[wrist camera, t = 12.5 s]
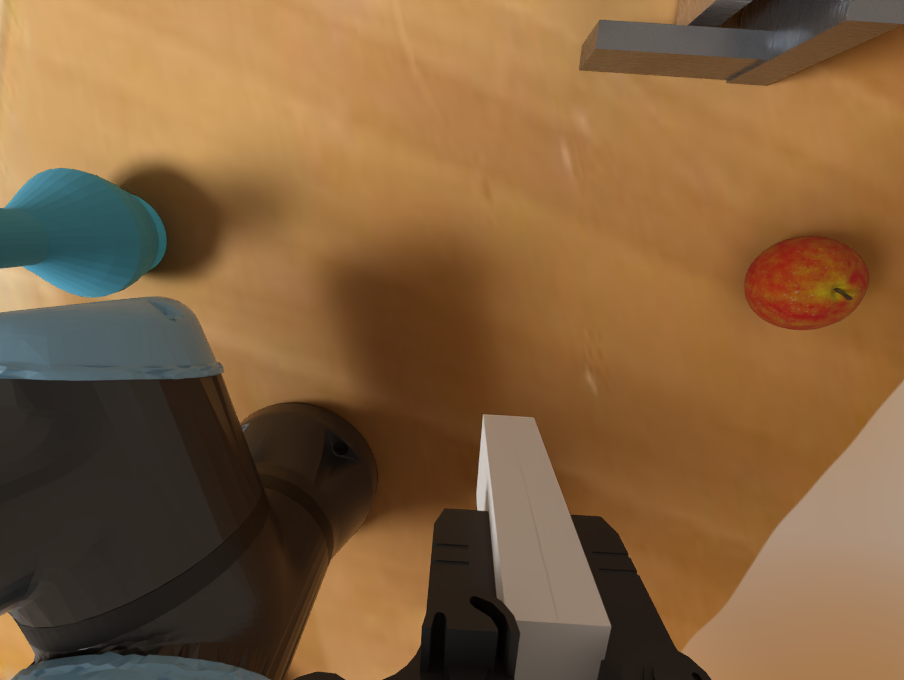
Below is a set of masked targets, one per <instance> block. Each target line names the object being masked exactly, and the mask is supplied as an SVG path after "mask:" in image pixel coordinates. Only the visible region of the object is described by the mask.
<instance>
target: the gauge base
mask: <svg viewBox="0 0 904 680" xmlns="http://www.w3.org/2000/svg"><path fill="white" fill-rule="evenodd" d="M902 25H904V0H752V1H751V2H750V3H748V4H747V5H746V6H745V7H743V10H742V14H741V19H740V23H739V28H738V29H733V28H718V27H703V26H687V25H672V24H657V23H642V22H626V21H611V20H599V22H598V23H597V24H596V26H595V27H594V29H593V30H592V32H591V33H590V35H589V36H588V38H587V39H586V41H585V42H584V44H583V45H582V52H581V59H580V67H579V70H585V71H600V72H615V73H630V74H645V75H661V76H676V77H691V78H706V79H721V80H727V83H735V84H750V85H765V86H767V85H769V84H772V83H774V82H776V81H778V80H781V79H783V78H785V77H787V76H789V75H792V74H794V73H796V72H798V71H801V70H803V69H805V68H807V67H810V66H812V65H814V64H816V63H819V62H821V61H823V60H825V59H828V58H830V57H832V56H834V55H837V54H839V53H841V52H843V51H846V50H848V49H850V48H852V47H855V46H857V45H859V44H861V43H864V42H866V41H868V40H870V39H872V38H875V37H877V36H879V35H881V34H884V33H886V32H888V31H890V30H893V29H895V28H897V27H899V26H902Z"/></svg>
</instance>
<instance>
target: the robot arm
mask: <svg viewBox="0 0 904 680" xmlns="http://www.w3.org/2000/svg"><path fill="white" fill-rule="evenodd" d="M221 373H224V369H223V366H222V364H221V363H219V362H217V361H216V359H215V357H214V355H213V352H212V350H211V348H210V346H209V343H208V341H207V339H206V337H205V334H204V332H203V330H202V327H201V325H200V323H199V321H198V319H197V317H196V315H195V314H194V313H193V312H192V311H191V310H190V309H189V308H188V307H187V306H186V305H184V304H182V303H181V302H179V301H176V300H174V299H170V298H166V297H141V298H131V299H121V300H112V301H102V302H93V303H83V304H74V305H65V306H55V307H46V308H37V309H27V310H18V311H10V312H1V313H0V616H1V615H3V614H5V613H7V612H8V613H9V614H10V615H11V616H12V617H13V619H14V620H15V621H16V623H17V624H18V626H19V627H20V629H21V631H22V632H23V634H24V635H25V637H26V639H27V641H28V642H29V644H30V646H31V647H32V649H33V651H34V653H35V658H34V662H33V663H32V664H31V665H30V666H29V667H28V668H26V669H23V670H21V671H20V672H18V673H17V674H16V675H15V676H14V677H13V678H12V679H11V680H285V678H286V675H287V672H288V670H289V667H290V665H291V662H292V659H293V657H294V654H295V652H296V649H297V646H298V644H299V641H300V639H301V636H302V633H303V631H304V628H305V626H306V623H307V620H308V618H309V615H310V613H311V610H312V607H313V605H314V602H315V600H316V597H317V594H318V592H319V589H320V587H321V584H322V581H323V579H324V576H325V573H326V571H327V568H328V565H329V563H330V560H331V559H332V558H333V556H334V555H335V554H336V553H337V552H338V551H339V550H340V549H341V548H342V547H343V546H344V545H345V543H346V542H347V541H348V540H349V539H350V538H351V537H352V536H353V535H354V534H355V532H356V531H357V530H358V529H359V528H360V527H361V525H362V524H363V522H364V521H365V519H366V517H367V515H368V513H369V511H370V508H371V505H372V502H373V499H374V496H375V493H376V488H377V468H376V463H375V460H374V457H373V454H372V452H371V450H370V448H369V446H368V444H367V443H366V441H365V440H364V438H363V437H362V436H361V435H360V434H359V432H358V431H357V430H356V429H355V428H354V427H353V426H351V425H350V424H349V423H348V422H346V421H345V420H344V419H342V418H341V417H339V416H337V415H336V414H334V413H332V412H330V411H327V410H325V409H322V408H319V407H316V406H312V405H307V404H299V403H285V404H277V405H272V406H269V407H266V408H263V409H261V410H258V411H256V412H254V413H253V414H251V415H250V416H248V417H247V418H246V419H244V420H243V421H242V422H241V423H239V420H238V417H237V415H236V412H235V409H234V407H233V404H232V401H231V398H230V396H229V393H228V390H227V388H226V385H225V382H224V380H223V377H222V374H221ZM476 496H477V510H462V509H446V508H445V509H444V510H443V512H442V513H441V515H440V516H439V518H438V519H437V521H436V522H435V523H434V532H433V543H432V554H431V566H430V577H429V588H428V599H427V610H426V616H425V619H424V622H423V625H422V636H421V646H420V648H419V650H418V652H417V654H416V655H415V656H414V658H413V659H412V660H411V661H410V662H409V664H408V665H407V666H405V667H404V668H403V669H401V670H400V671H399V672H397V673H396V674H395V675H392V676H390V677H388V678H386V679H383V680H711V679H710V677H709V676H708V675H707V673H706V672H705V671H704V670H703V669H702V668H700V667H699V666H698V665H697V664H696V663H695V662H694V661H693V660H692V659H690V658H689V657H688V656H686V655H684V654H683V653H681V652H679V651H678V650H677V649H676V647H675V646H674V644H673V642H672V640H671V638H670V636H669V634H668V632H667V630H666V628H665V626H664V624H663V622H662V620H661V618H660V616H659V614H658V612H657V610H656V608H655V606H654V604H653V602H652V600H651V598H650V596H649V594H648V592H647V590H646V588H645V586H644V584H643V582H642V580H641V578H640V576H639V575H637V570H636V568H635V566H634V564H633V562H632V560H631V558H629V557H628V552H627V550H626V548H625V546H624V544H623V542H622V540H621V539H620V537H619V535H618V533H617V532H616V531H615V530H614V529H613V528H612V527H611V526H610V525H609V524H608V523H607V522H606V521H605V520H604V519H603V518H602V517H599V516H583V515H570V513H569V511H568V508H567V505H566V503H565V500H564V497H563V495H562V492H561V489H560V487H559V484H558V481H557V478H556V476H555V473H554V470H553V468H552V465H551V462H550V460H549V457H548V454H547V451H546V449H545V446H544V443H543V441H542V438H541V435H540V433H539V430H538V427H537V425H536V422H535V419H534V417H521V416H505V415H489V414H483V421H482V433H481V445H480V456H479V468H478V480H477V492H476ZM294 680H345V679H343V678H342V677H340V676H339V675H337V674H335V673H326V672H314V673H311V674H307V675H304V676H300V677H297V678H296V679H294Z"/></svg>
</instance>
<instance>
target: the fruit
mask: <svg viewBox="0 0 904 680" xmlns="http://www.w3.org/2000/svg"><path fill="white" fill-rule="evenodd" d="M868 283H869V275H868V270H867V268H866V265H865V263H864V261H863V260H862V258H861V257H860V256H859V255H858V254H857V253H856V252H855V251H854V250H853V249H851V248H850V247H848V246H847V245H845V244H843V243H840V242H838V241H836V240H832V239H828V238H824V237H813V236H806V237H797V238H792V239H788V240H785V241H782V242H780V243H777V244H775V245H773V246H772V247H770V248H768V249H767V250H765V251H764V252H763V253H762V254H761V255H759V256H758V257H757V258H756V259H755V261H754V262H753V263H752V264H751V266H750V268H749V269H748V272H747V274H746V278H745V286H744V287H745V295H746V299H747V301H748V304H749V306H750V307H751V308H752V310H753V311H754V312H755V313H756V314H757V315H758V316H759V317H760V318H762V319H763V320H765V321H767V322H768V323H771V324H773V325H776V326H778V327H782V328H787V329H793V330H810V329H818V328H821V327H825V326H828V325H831V324H833V323H836V322H838V321H840V320H842V319H844V318H846V317H847V316H848V315H850V314H851V313H852V312H853V311H854V310H855V309H856V307H857V306H858V305H859V303H860V302H861V300H862V299H863V297H864V295H865V293H866V290H867V287H868Z"/></svg>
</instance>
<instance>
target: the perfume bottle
mask: <svg viewBox="0 0 904 680" xmlns="http://www.w3.org/2000/svg"><path fill="white" fill-rule="evenodd" d="M166 245H167V237H166V231H165V228H164V225H163V223H162V220H161V218H160V217H159V215H158V214H157V212H156V211H155V210H154V209H153V208H152V207H151V206H150V205H149V204H148V203H147V202H145V201H144V200H143V199H141V198H139V197H137V196H135V195H132V194H130V193H129V192H127V191H125V190H123V189H121V188H119V187H118V186H117V185H115V184H113V183H111V182H109V181H107V180H105V179H103V178H101V177H99V176H97V175H93V174H90V173H86V172H83V171H79V170H75V169H66V168H57V169H50V170H46V171H44V172H41V173H39V174H37V175H35V176H34V177H33V178H31V179H30V180H28V181H27V183H26V184H25V185H24V186H23V187H22V188H21V189H20V190H19V191H18V192H17V194H16V195H15V196H14V197H13V199H12V200H11V201H10V202H9V203H8V204H7V205H6V206H5V208H0V268H9V267H19V266H22V267H24V268H26V269H28V270H29V271H31V272H33V273H35V274H36V275H38V276H39V277H41V278H42V279H44V280H45V281H47V282H49V283H51V284H52V285H54V286H56V287H58V288H60V289H62V290H64V291H66V292H68V293H71V294H75V295H78V296H82V297H102V296H107V295H110V294H113V293H116V292H119V291H121V290H124V289H126V288H127V287H129V286H130V285H132V284H133V283H135V282H136V281H137V280H138V279H139V278H140V277H141V276H142V275H144V274H145V273H147V272H148V271H149V270H151V269H152V268H154V267H156V266H157V265H158V264H159V263H160V262H161V260H162V258H163V256H164V254H165V251H166Z"/></svg>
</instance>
